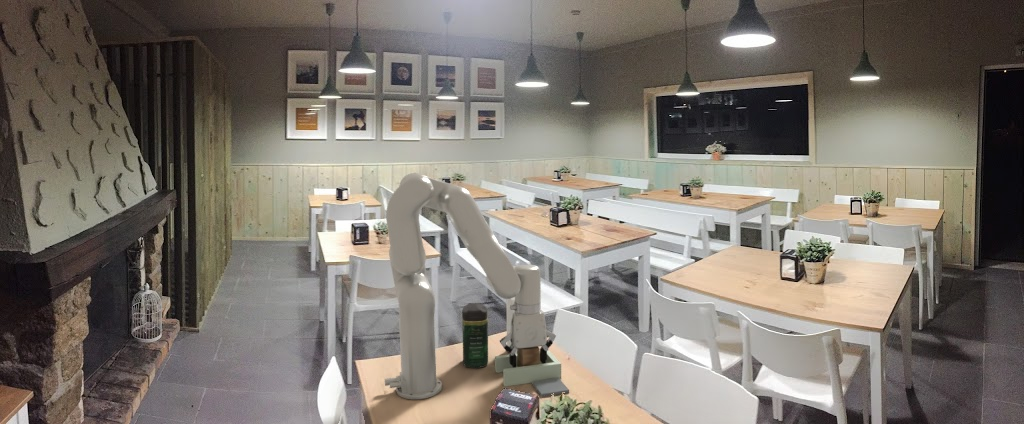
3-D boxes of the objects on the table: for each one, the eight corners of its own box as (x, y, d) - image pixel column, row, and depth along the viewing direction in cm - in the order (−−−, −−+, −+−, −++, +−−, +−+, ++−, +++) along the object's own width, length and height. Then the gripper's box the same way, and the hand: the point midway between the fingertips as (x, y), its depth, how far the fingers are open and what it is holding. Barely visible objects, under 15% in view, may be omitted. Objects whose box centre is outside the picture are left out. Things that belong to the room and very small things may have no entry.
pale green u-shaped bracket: (504, 386, 152) (504, 371, 152) (495, 370, 163) (494, 356, 162) (561, 378, 157) (561, 363, 156) (548, 363, 167) (548, 349, 167)
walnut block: (523, 379, 156) (523, 350, 155) (517, 371, 162) (517, 342, 161) (539, 377, 158) (539, 348, 157) (533, 369, 163) (532, 340, 162)
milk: (529, 354, 175) (529, 288, 172) (511, 357, 173) (511, 290, 170) (524, 347, 180) (523, 283, 177) (506, 349, 179) (506, 285, 176)
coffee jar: (489, 368, 164) (488, 309, 162) (463, 370, 164) (461, 310, 161) (488, 356, 174) (487, 300, 171) (463, 357, 173) (461, 301, 171)
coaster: (541, 396, 146) (541, 394, 146) (532, 384, 153) (532, 381, 153) (569, 392, 148) (569, 389, 148) (558, 380, 156) (558, 377, 156)
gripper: (502, 314, 151) (503, 373, 154) (560, 308, 156) (560, 365, 158) (495, 306, 158) (496, 363, 161) (551, 301, 163) (551, 356, 165)
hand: (528, 364), depth 159 cm, fingers open, 8 cm apart
